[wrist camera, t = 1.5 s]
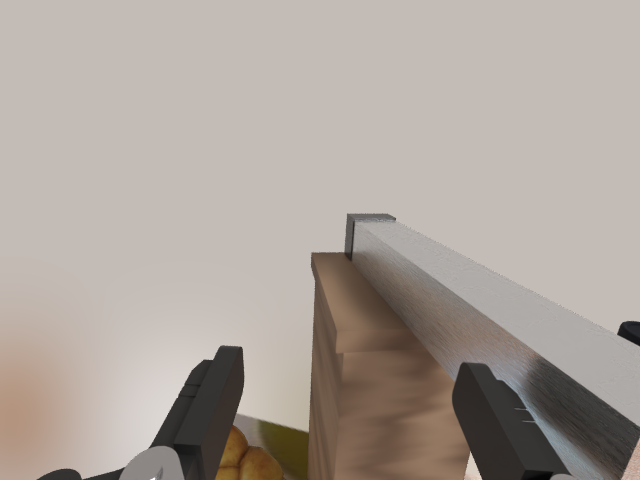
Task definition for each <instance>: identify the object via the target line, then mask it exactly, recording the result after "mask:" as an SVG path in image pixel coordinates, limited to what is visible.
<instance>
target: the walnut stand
mask: <svg viewBox="0 0 640 480" xmlns="http://www.w3.org/2000/svg"><path fill="white" fill-rule="evenodd" d="M344 253H345V252H344ZM344 253H343V252H339V253H312V255H311V256H312V257H311V268H312V271H313V275H314V278H315V301H314V323H313V349H312V373H311V397H310V420H309V444H308V468H307V480H464V476H465V472H466V468H467V464H468V459H469V455H470V448H469V446H468V444H467V441H466V439H465V436H464V434H463V431H462V429H461V427H460V424H459V422H458V419H457V417H456V415H455V412H454V409H453V405H452V391H453V388H454V385H455V382H454V380H453V379H452V378H451V377H450V376H449V375H448V373H447V372H446V371H445V370H444V369H443V368H442V366H441V365H440V364H439V363H438V362H437V361H436V359H435V358H434V357H433V356H432V355H431V354H430V352H429V351H428V350H427V349H426V348H425V347H424V345H423V344H422V343H421V342H420V341H419V340H418V338H417V337H416V336H415V335H414V334H413V333H412V331H411V330H410V329H409V328H408V327H407V326H406V324H405V323H404V322H403V321H402V320H401V319H400V317H399V316H398V315H397V314H396V313H395V312H394V310H393V309H392V308H391V307H390V306H389V305H388V303H387V302H386V301H385V300H384V299H383V298H382V296H381V295H380V294H379V293H378V292H377V291H376V289H375V288H374V287H373V286H372V285H371V284H370V282H369V281H368V280H367V279H366V278H365V277H364V275H363V274H362V273H361V272H360V271H359V270H358V268H357V267H356V266H355V265H354V264H353V263H352V261H350V260H349V259H348V258H347V257H346V256H345V254H344Z"/></svg>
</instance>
